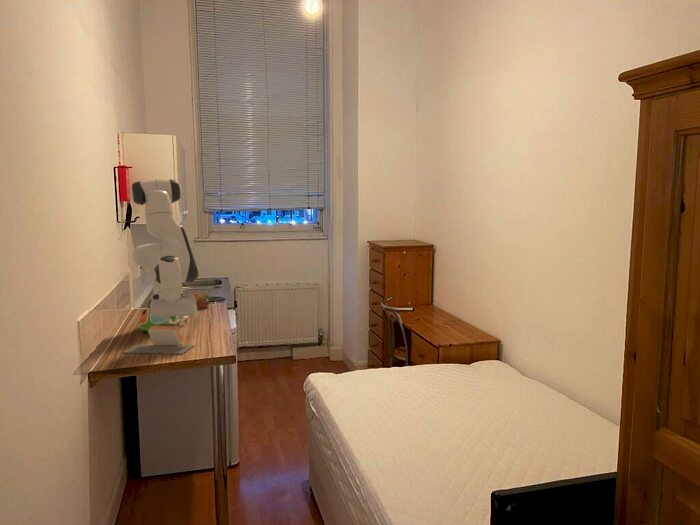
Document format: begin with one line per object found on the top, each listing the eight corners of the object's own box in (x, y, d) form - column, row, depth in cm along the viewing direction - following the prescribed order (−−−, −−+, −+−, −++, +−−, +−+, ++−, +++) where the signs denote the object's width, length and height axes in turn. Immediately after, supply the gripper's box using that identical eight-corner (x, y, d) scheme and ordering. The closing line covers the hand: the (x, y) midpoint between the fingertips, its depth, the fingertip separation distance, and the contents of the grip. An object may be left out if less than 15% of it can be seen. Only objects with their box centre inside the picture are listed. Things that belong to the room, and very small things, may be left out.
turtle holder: (185, 327, 247) (182, 303, 245) (147, 336, 235) (144, 310, 233) (173, 323, 256) (171, 299, 254) (136, 332, 244) (133, 307, 242)
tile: (157, 340, 223) (151, 326, 219) (183, 341, 221) (177, 326, 217) (153, 345, 221) (147, 330, 216) (180, 345, 218) (174, 330, 214)
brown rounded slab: (181, 310, 284) (180, 294, 283) (182, 308, 287) (180, 293, 286) (210, 307, 287) (209, 292, 286) (210, 306, 290) (209, 291, 289)
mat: (137, 345, 221) (137, 344, 221) (194, 346, 216) (194, 345, 216) (123, 353, 211) (122, 352, 211) (182, 354, 206) (182, 353, 206)
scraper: (177, 324, 235) (177, 316, 235) (192, 324, 234) (191, 316, 233) (160, 333, 221) (159, 323, 220) (175, 333, 219) (174, 323, 219)
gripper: (198, 292, 225) (201, 323, 227) (154, 293, 229) (158, 323, 231) (191, 295, 219) (194, 327, 221) (146, 296, 223) (150, 327, 225)
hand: (175, 325), depth 226 cm, fingers closed on scraper, 2 cm apart
